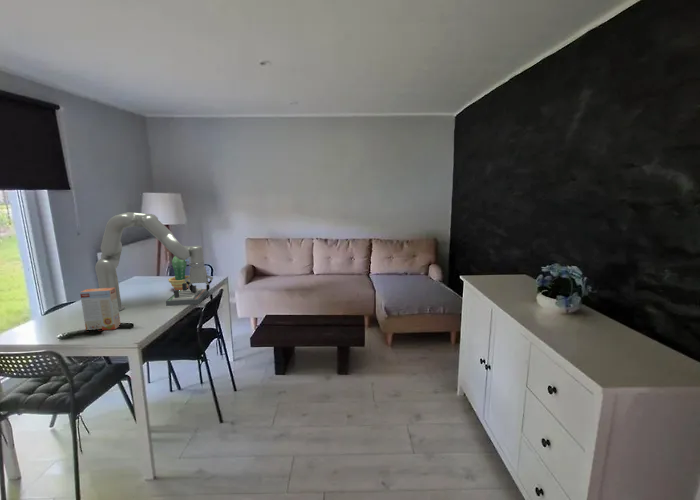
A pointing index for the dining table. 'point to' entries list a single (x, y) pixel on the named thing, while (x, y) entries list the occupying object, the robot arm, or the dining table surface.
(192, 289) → the breaker handle
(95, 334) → the dining table surface
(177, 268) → the potted cactus
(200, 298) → the breaker panel
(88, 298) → the cracker box
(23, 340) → the dining table surface
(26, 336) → the dining table surface
